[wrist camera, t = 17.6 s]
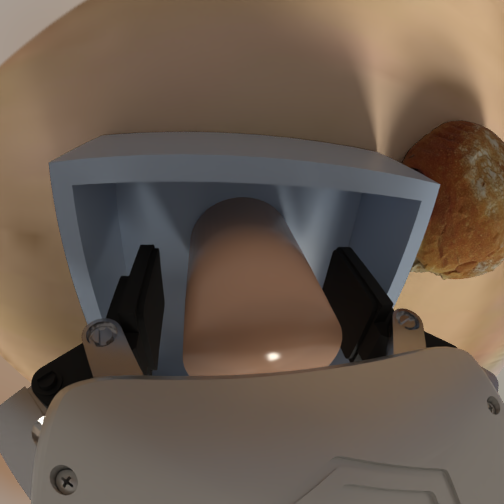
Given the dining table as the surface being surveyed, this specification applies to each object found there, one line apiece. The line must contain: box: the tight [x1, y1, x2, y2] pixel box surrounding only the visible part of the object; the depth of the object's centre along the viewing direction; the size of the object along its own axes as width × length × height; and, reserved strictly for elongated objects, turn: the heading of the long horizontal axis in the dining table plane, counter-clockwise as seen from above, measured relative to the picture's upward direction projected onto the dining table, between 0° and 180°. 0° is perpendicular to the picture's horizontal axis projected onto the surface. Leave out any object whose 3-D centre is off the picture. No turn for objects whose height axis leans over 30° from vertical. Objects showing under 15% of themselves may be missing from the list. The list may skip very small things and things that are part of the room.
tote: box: [49, 132, 440, 376], centre depth 14 cm, size 18×14×5 cm
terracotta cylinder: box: [183, 197, 342, 376], centre depth 11 cm, size 5×5×7 cm
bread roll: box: [402, 121, 504, 280], centre depth 13 cm, size 10×10×8 cm
